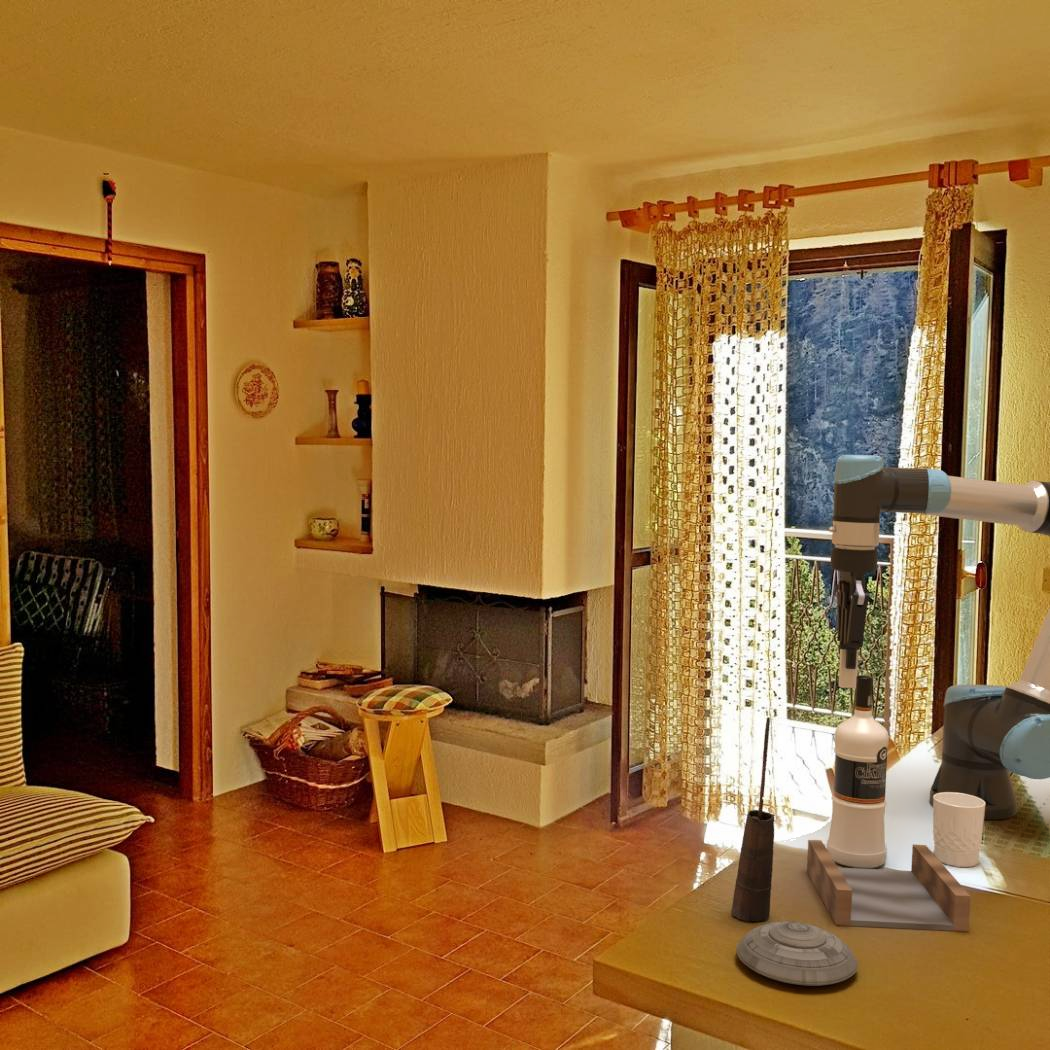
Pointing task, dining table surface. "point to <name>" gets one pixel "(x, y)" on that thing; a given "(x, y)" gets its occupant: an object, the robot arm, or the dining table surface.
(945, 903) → the u rest
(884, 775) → the vodka
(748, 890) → the butter churn
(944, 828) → the white cup
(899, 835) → the dining table surface
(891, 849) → the dining table surface
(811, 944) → the flying saucer
